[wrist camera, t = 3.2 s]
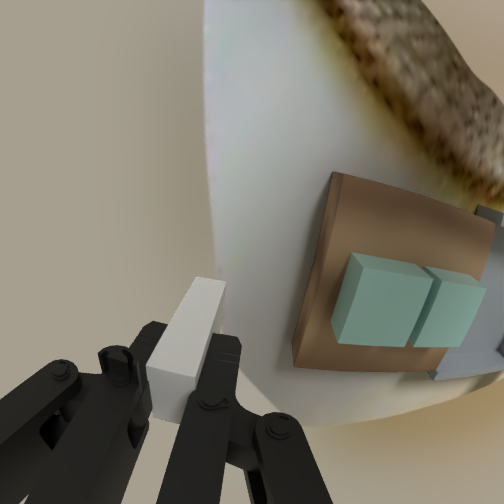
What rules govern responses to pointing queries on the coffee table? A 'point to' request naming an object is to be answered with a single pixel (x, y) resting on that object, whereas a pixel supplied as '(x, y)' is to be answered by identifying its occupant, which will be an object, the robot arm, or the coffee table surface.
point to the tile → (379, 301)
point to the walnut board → (385, 246)
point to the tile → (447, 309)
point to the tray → (482, 318)
